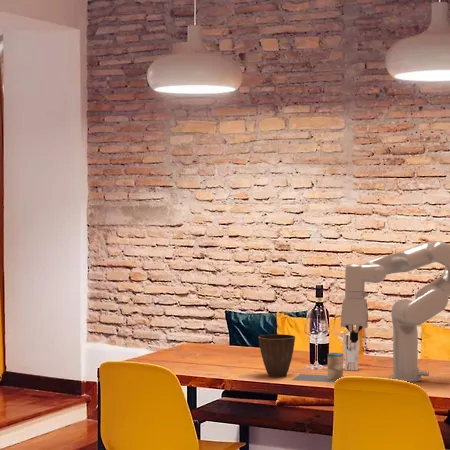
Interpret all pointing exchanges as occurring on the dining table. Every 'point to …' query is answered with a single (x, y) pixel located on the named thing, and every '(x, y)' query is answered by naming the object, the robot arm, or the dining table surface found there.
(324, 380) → the rubber mat
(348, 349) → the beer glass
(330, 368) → the capped block
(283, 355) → the plant pot
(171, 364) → the dining table surface
